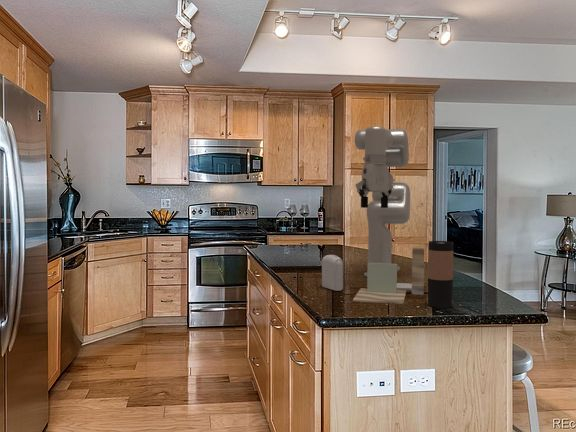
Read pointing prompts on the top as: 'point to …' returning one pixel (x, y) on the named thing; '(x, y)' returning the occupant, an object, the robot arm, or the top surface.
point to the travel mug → (440, 274)
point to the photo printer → (332, 272)
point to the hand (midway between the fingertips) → (374, 207)
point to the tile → (382, 278)
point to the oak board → (380, 297)
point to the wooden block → (418, 270)
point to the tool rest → (404, 286)
